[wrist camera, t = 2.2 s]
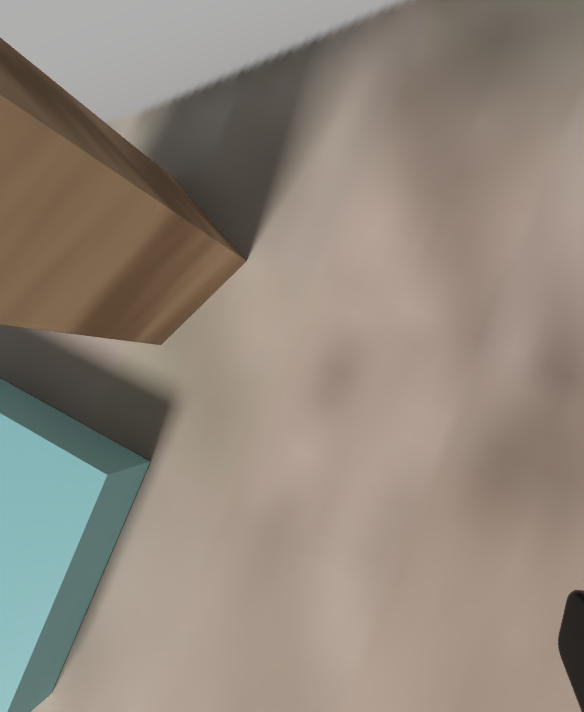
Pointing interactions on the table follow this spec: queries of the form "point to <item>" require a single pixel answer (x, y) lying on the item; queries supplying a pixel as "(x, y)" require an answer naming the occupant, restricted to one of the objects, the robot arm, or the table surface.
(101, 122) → the block
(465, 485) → the table surface
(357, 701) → the table surface
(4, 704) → the base
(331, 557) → the table surface
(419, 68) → the table surface
